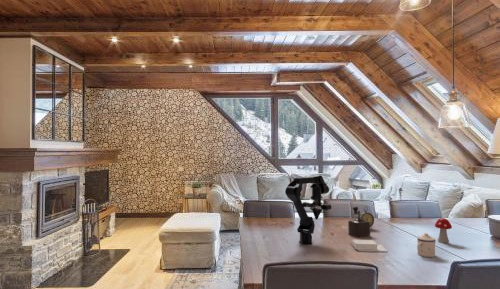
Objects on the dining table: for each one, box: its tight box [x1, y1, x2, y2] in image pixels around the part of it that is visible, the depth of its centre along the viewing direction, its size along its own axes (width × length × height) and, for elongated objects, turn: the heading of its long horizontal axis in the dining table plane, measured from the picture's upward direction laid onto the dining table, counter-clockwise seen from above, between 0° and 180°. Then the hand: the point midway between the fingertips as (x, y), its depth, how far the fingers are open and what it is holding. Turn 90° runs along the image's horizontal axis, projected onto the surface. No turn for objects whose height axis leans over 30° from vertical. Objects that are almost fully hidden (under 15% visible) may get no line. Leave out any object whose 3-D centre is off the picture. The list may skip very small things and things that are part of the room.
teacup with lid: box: [416, 233, 436, 258], centre depth 197 cm, size 12×9×12 cm
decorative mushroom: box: [434, 217, 453, 245], centre depth 227 cm, size 10×9×15 cm
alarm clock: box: [360, 206, 375, 229], centre depth 266 cm, size 11×5×16 cm, turn 105°
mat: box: [356, 244, 388, 253], centre depth 211 cm, size 16×14×1 cm
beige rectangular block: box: [351, 239, 378, 250], centre depth 211 cm, size 3×10×12 cm
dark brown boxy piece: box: [347, 206, 371, 238], centre depth 248 cm, size 16×11×18 cm
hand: (316, 219), depth 231 cm, fingers closed
